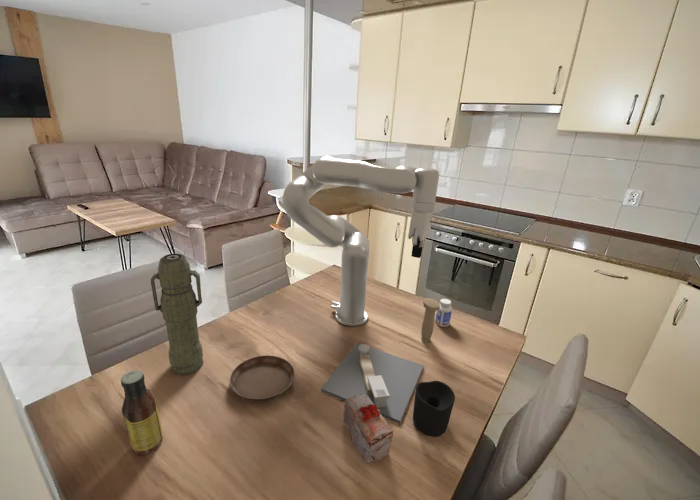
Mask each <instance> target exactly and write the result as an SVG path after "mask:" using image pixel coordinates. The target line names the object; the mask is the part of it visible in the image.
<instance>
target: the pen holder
mask: <svg viewBox="0 0 700 500" xmlns="http://www.w3.org/2000/svg"><path fill="white" fill-rule="evenodd" d="M414 393H415V394H414V401H413V411H412V423H413V425H414V427H415V428H416V429H417V431H418V432H419V433H421V434H422V435H424V436H427V437H430V438H437V437H441V436H443V435H444V434H445V433H446V432H447V429H448V425H449V423H450V419H451V415H452V411H453V407H454V404H455V400H456V395H455V392H454V390H453V389H452V388H451V387H450V386H449V385H448V384H447V383H445V382H442V381H439V380H433V381H421V382H417V384H416V387H415V390H414Z"/></svg>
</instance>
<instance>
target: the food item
mask: <svg viewBox="0 0 700 500" xmlns="http://www.w3.org/2000/svg"><path fill="white" fill-rule="evenodd" d="M377 409H378V408H377V407H376V405H374V404H373V403H372V401H371V400H370V398H369V397H368V395H365V394H360V395H357V396H353V397H350V398H348V399H347V400H346V401H344V409H343V410H344V412H343V423H344V424H345V426H346V427H347V429H348V431H349V433H350V434H351V437H352V444H353V445H354V447H355V448H357V451H358V452H359V453H360V454H361V455H362V457H363V459H364V461H366V464H370V462H375V461H379V460H382V459H384V458H386V457H387V456H388V455H390V448H391V445H392V442H393V437H394V430H393V428H391V426H390V425H389V423H388V422H387V421H386V418H384V417H383V416H382V415H381V414H380V412H379V411H380V410H377Z"/></svg>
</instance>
